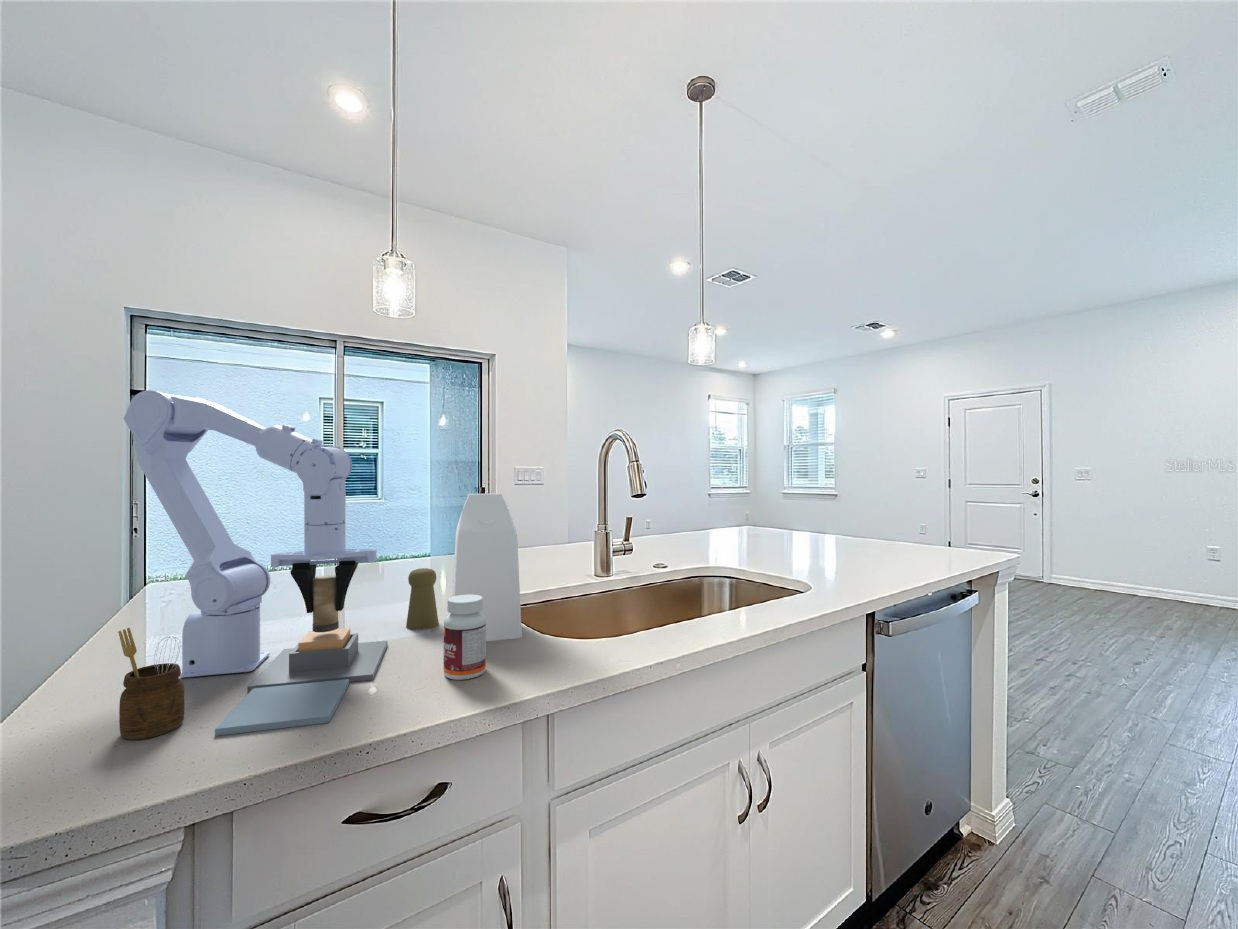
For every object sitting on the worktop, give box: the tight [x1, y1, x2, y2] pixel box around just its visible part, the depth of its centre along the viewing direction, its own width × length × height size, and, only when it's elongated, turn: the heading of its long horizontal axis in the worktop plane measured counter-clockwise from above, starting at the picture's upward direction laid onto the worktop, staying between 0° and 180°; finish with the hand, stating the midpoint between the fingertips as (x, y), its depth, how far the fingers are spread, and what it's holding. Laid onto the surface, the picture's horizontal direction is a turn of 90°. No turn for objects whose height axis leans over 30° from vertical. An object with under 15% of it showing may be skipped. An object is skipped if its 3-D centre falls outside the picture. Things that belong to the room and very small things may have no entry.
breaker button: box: [297, 628, 351, 652], centre depth 86 cm, size 6×6×2 cm
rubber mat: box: [214, 679, 350, 737], centre depth 71 cm, size 12×12×1 cm
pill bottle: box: [443, 595, 487, 681], centre depth 83 cm, size 6×6×11 cm
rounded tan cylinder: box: [312, 574, 340, 632], centre depth 86 cm, size 4×4×8 cm
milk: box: [452, 492, 523, 642], centre depth 104 cm, size 12×12×26 cm
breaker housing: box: [247, 632, 388, 693], centre depth 86 cm, size 16×16×4 cm
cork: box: [405, 567, 440, 631], centre depth 108 cm, size 6×6×11 cm
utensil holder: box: [118, 627, 185, 741], centre depth 66 cm, size 6×6×12 cm
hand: (325, 610), depth 86 cm, fingers closed on rounded tan cylinder, 3 cm apart
